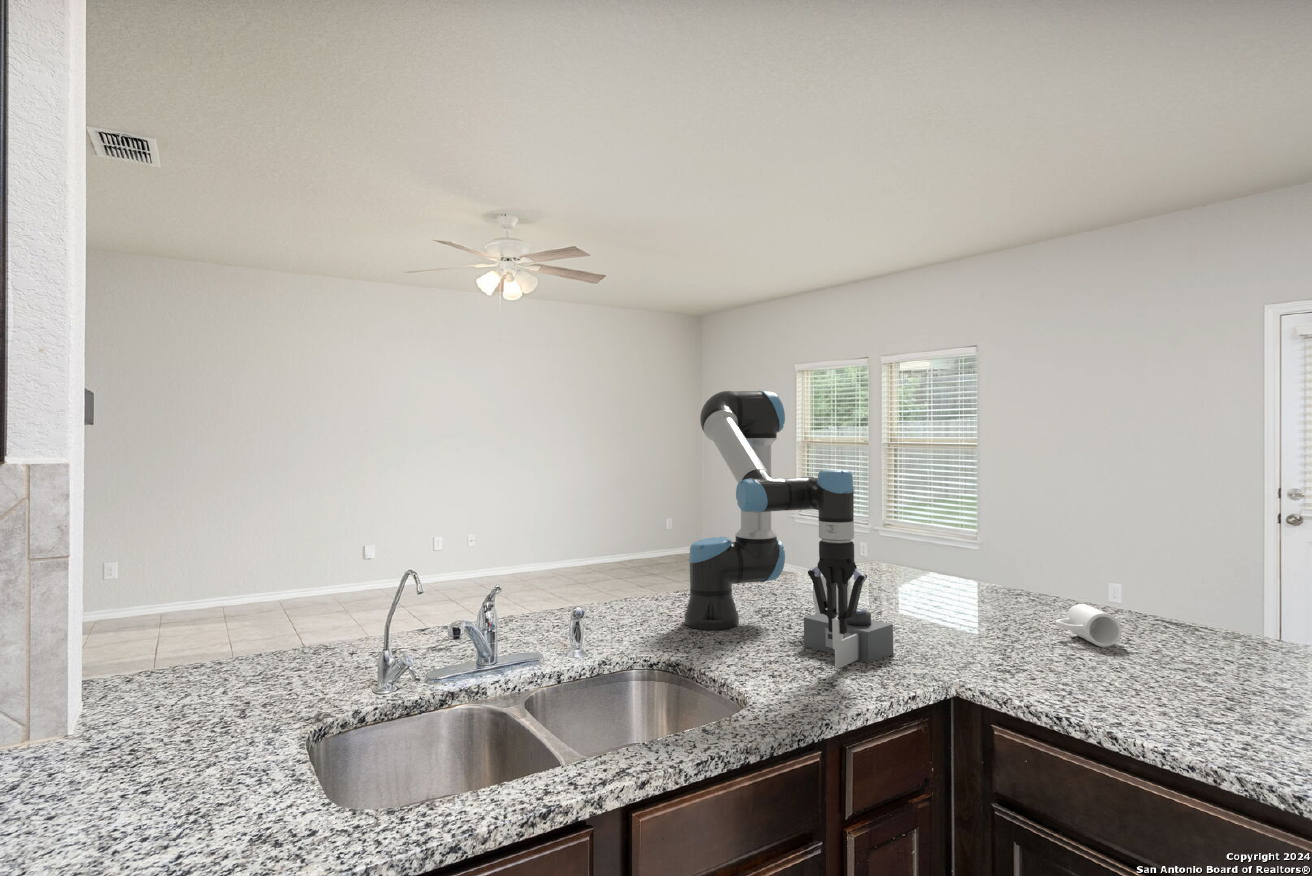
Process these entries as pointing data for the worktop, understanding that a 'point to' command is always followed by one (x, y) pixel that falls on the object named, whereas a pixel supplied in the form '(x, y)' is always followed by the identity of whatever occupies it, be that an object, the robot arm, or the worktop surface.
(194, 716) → the worktop surface
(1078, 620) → the mug
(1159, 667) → the worktop surface
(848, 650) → the side door
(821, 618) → the camera body
